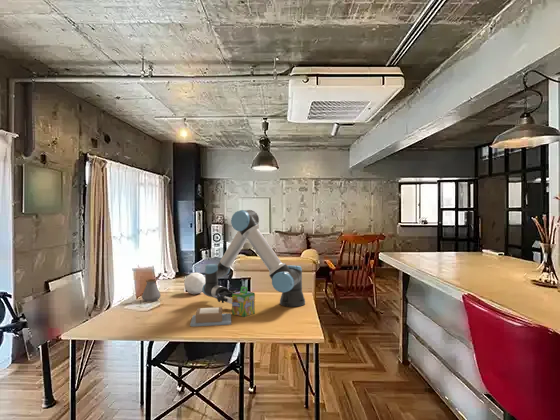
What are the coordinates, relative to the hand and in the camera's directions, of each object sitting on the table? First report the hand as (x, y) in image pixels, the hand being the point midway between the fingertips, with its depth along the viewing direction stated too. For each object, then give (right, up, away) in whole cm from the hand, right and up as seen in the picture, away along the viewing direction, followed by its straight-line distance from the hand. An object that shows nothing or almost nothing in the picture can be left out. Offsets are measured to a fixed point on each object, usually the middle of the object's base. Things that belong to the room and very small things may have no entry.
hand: (242, 298), depth 216 cm
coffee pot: (-60, -9, +39) cm, 72 cm away
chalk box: (+1, -8, 0) cm, 8 cm away
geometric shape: (-37, -8, +52) cm, 64 cm away
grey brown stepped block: (-15, -9, -12) cm, 21 cm away
